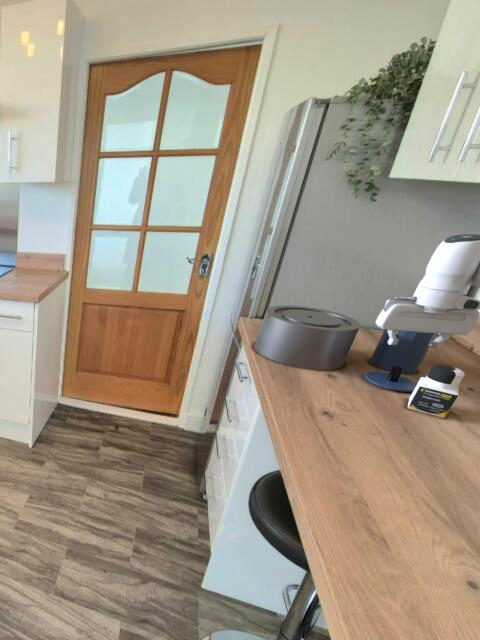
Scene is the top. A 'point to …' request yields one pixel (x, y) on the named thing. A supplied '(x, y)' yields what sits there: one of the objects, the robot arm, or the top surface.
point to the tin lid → (391, 380)
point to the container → (306, 337)
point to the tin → (402, 351)
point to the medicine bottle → (437, 390)
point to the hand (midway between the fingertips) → (412, 346)
